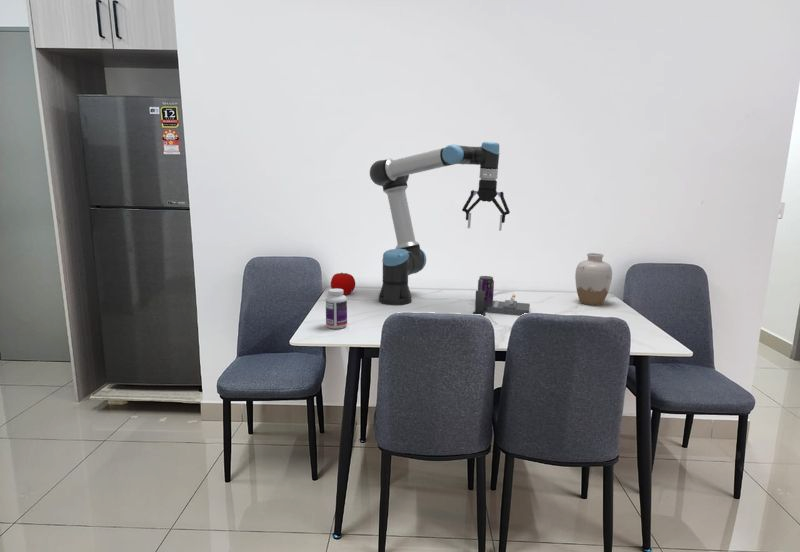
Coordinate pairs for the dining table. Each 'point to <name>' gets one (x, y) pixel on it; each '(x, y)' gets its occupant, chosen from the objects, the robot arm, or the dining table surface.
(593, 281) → the vase
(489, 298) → the beverage can
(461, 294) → the dining table surface
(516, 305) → the breaker panel
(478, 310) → the cord post
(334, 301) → the pill bottle
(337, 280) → the tomato
